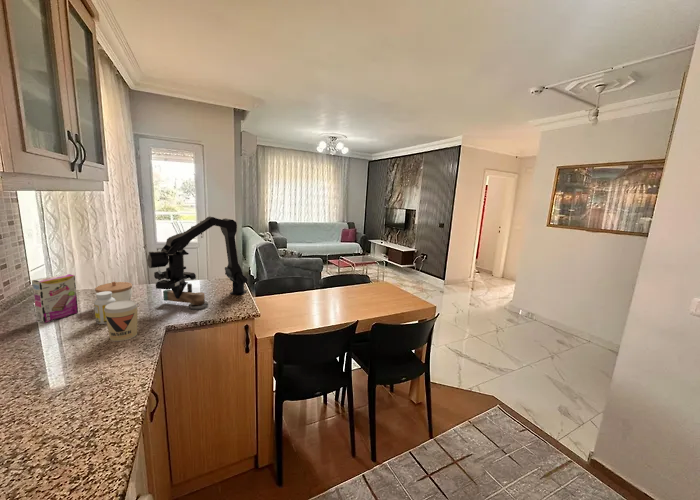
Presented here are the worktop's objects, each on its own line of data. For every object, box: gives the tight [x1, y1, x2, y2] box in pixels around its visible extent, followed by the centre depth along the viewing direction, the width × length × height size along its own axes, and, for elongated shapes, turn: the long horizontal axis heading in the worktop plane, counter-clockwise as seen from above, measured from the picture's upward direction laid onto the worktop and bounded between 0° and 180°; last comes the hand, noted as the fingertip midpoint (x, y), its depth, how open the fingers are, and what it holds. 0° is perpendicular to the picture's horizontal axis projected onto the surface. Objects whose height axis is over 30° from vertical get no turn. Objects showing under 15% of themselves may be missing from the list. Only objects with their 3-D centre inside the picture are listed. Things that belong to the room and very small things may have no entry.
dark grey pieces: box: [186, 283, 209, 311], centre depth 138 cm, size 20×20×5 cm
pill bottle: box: [93, 291, 116, 325], centre depth 112 cm, size 6×6×12 cm
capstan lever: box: [162, 289, 206, 306], centre depth 133 cm, size 20×5×4 cm, turn 83°
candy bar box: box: [31, 273, 79, 324], centre depth 113 cm, size 11×5×16 cm, turn 164°
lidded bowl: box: [94, 281, 133, 302], centre depth 127 cm, size 13×13×11 cm
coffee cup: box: [104, 299, 139, 342], centre depth 102 cm, size 9×9×12 cm
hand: (177, 298), depth 130 cm, fingers closed
